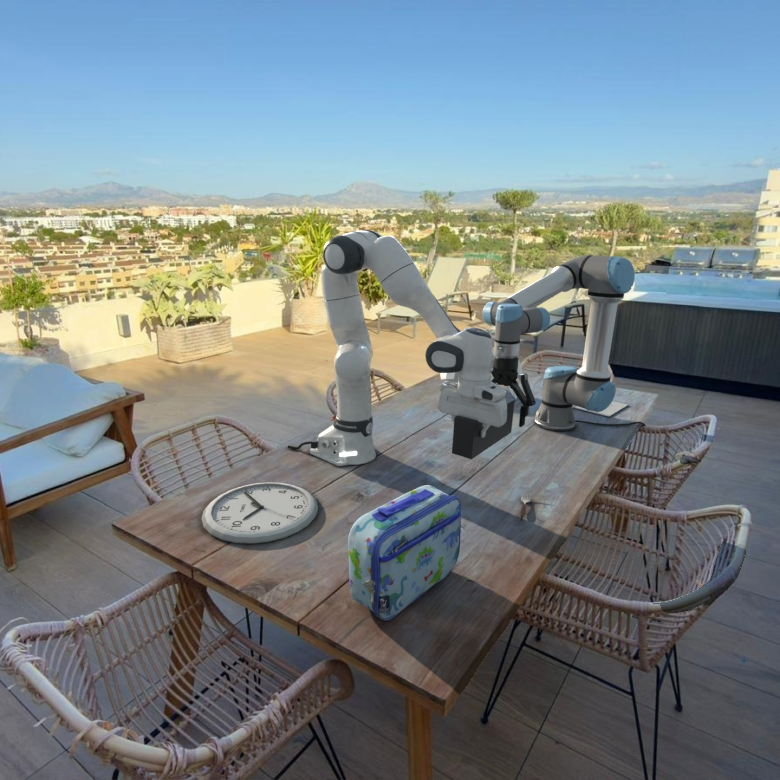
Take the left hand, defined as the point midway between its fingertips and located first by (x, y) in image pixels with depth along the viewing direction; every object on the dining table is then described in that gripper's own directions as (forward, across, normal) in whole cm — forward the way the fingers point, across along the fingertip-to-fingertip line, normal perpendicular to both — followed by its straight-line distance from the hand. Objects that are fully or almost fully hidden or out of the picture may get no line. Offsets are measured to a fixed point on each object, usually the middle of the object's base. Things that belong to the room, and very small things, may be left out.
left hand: (469, 433), depth 149 cm
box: (+6, 0, +10) cm, 11 cm away
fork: (+17, +19, -1) cm, 25 cm away
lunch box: (+17, +13, -48) cm, 53 cm away
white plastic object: (+17, -40, +86) cm, 96 cm away
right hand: (+2, 0, +20) cm, 21 cm away
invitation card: (+16, +11, +102) cm, 103 cm away
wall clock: (+18, -36, -46) cm, 61 cm away
